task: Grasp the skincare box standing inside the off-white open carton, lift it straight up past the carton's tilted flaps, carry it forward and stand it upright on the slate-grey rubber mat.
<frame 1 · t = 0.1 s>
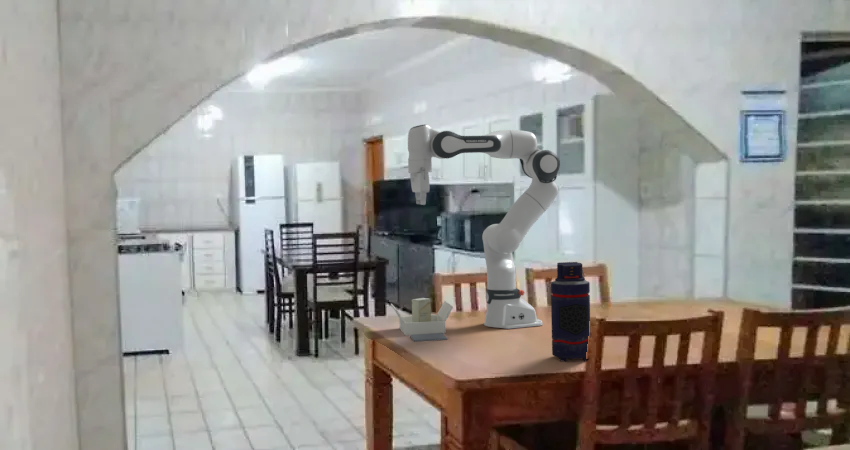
hand: (421, 204, 304), 48 cm above the table, fingers open, 8 cm apart
mat: (428, 338, 290), on the table
carton: (422, 330, 304), on the table
dark blue bottle: (570, 358, 252), on the table
skincare box: (422, 331, 304), resting in carton
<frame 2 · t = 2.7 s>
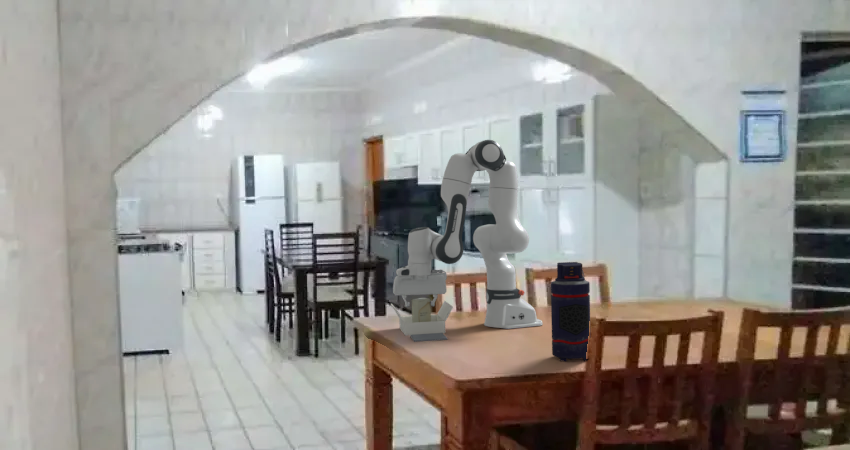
hand: (419, 306, 304), 9 cm above the table, fingers open, 8 cm apart
skincare box: (422, 331, 304), resting in carton, touching gripper
everything else where it was.
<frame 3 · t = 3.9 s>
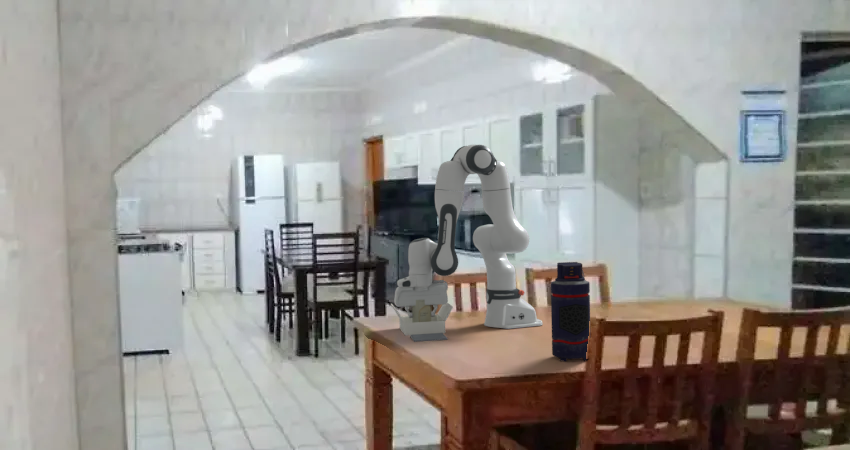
hand: (421, 317, 304), 5 cm above the table, fingers closed on skincare box, 7 cm apart
skincare box: (422, 331, 304), resting in carton, touching gripper
everything else where it was.
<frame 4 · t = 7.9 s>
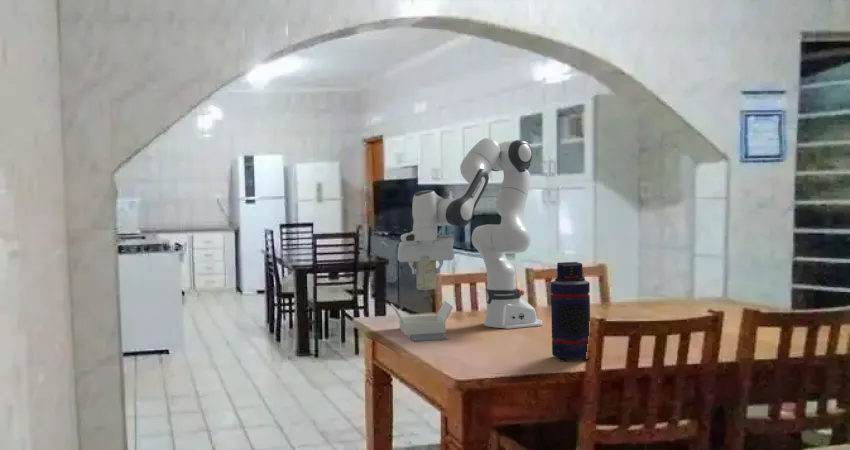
hand: (426, 273, 289), 23 cm above the table, fingers closed on skincare box, 7 cm apart
skincare box: (426, 289, 289), point 18 cm above the table, touching gripper
everything else where it was.
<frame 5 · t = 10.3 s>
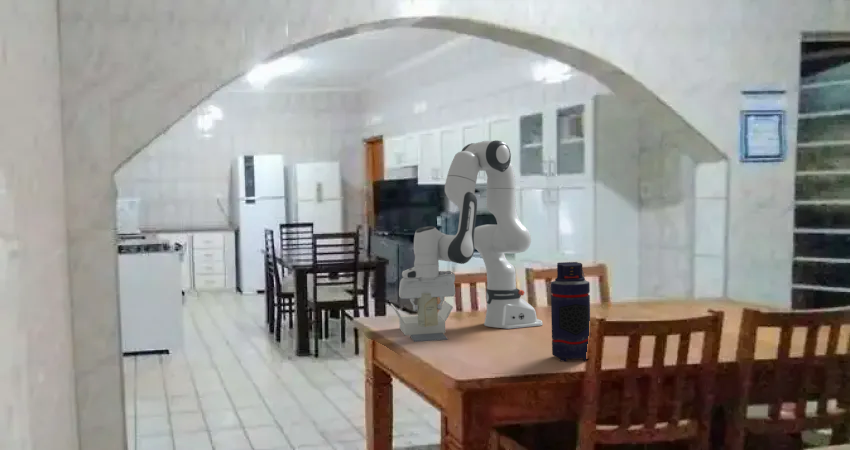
hand: (427, 309, 289), 10 cm above the table, fingers closed on skincare box, 7 cm apart
skincare box: (428, 326, 289), point 4 cm above the table, touching gripper
everything else where it was.
when the fingers open (7 cm above the table, at t = 12.1 s): skincare box stays where it is, resting on mat.
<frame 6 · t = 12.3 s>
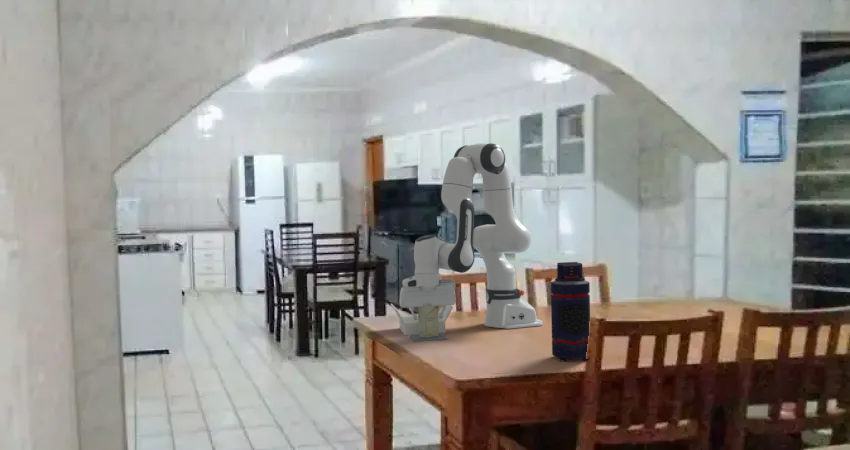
hand: (428, 318, 289), 7 cm above the table, fingers open, 8 cm apart
skincare box: (429, 336, 290), resting on mat
everything else where it was.
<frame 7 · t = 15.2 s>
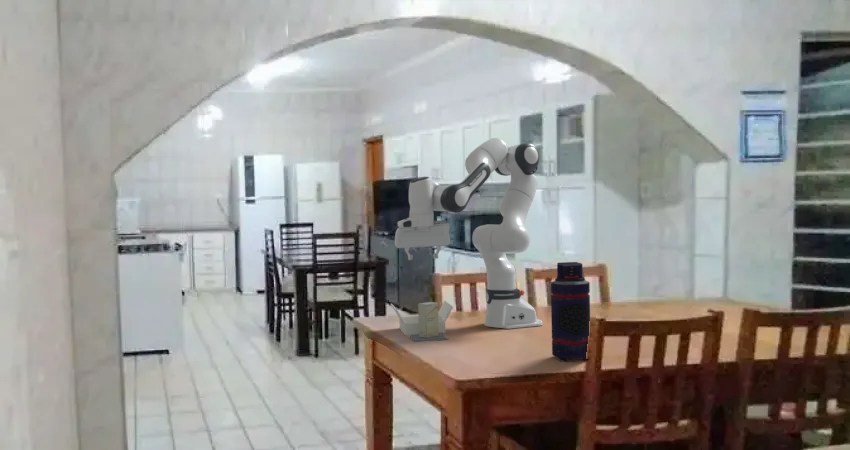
hand: (423, 259, 294), 28 cm above the table, fingers open, 8 cm apart
nothing on the table moved.
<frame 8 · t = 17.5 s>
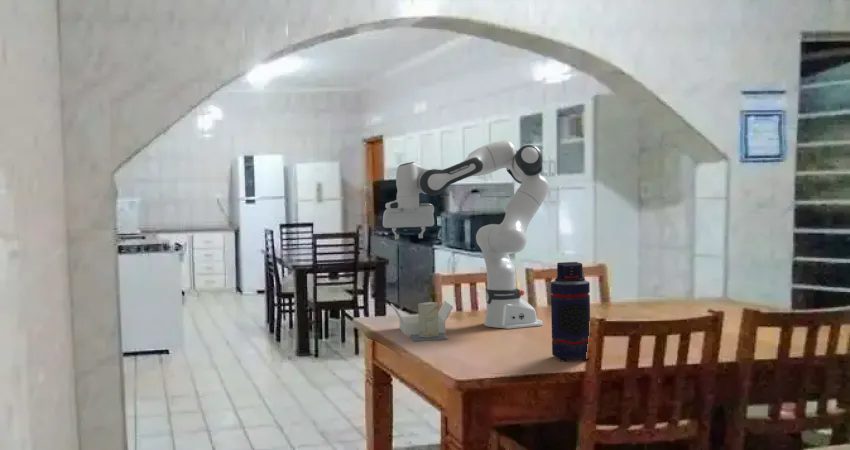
hand: (408, 238, 316), 34 cm above the table, fingers open, 8 cm apart
nothing on the table moved.
at the end: skincare box inside the target area on the mat (0.2 cm from its centre), point 0.4 cm above the mat's base; skincare box tilted 0°; the gripper is holding nothing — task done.
